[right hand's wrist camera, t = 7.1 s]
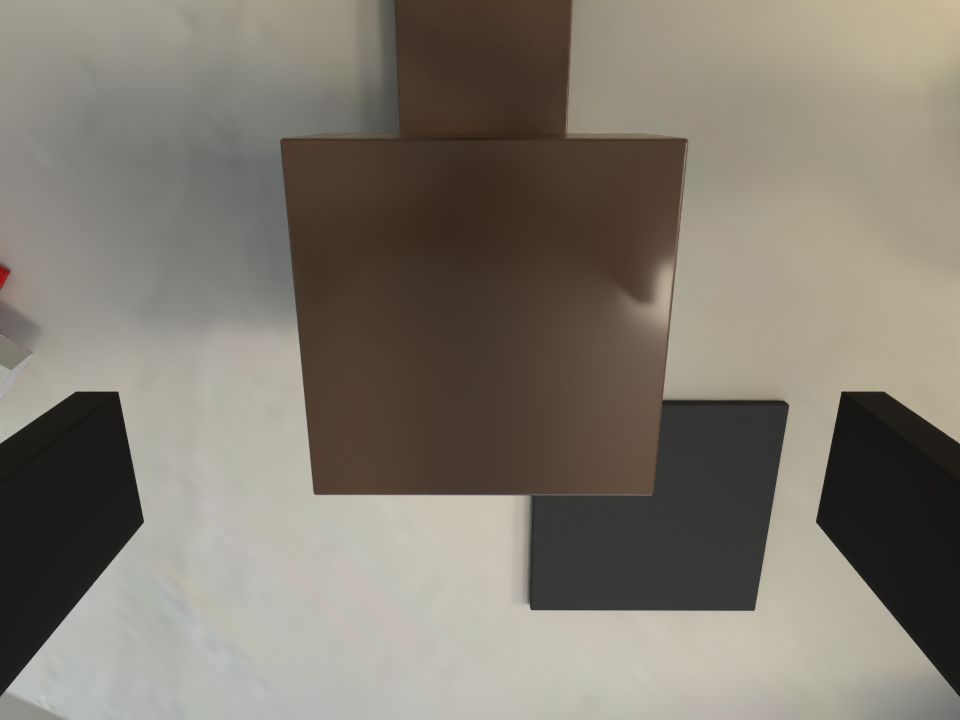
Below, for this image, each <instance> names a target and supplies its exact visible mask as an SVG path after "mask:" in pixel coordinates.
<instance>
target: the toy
mask: <svg viewBox="0 0 960 720" xmlns="http://www.w3.org/2000/svg"><path fill="white" fill-rule="evenodd" d="M9 273H10V271H8V270H7V269H5V268H3V267H1V266H0V289H1V287H2V286H3V284H4V282H5V280H6V278H7V277H8V275H9ZM32 354H33V352H32V351H30V350H28V349H27V348H25V347H23V346H21V345H19V344H18V343H16V342H14V341H12V340H10V339H9V338H7V337H5V336H3V335H1V334H0V398H1V397H2V396H3V395H5V394H6V393H7V392H8V391H9V390H10V388H11V387H12V385H13V384H14V382H15V380H16V379H17V377H18V376H19V374H20V373H21V371H22V369H23V368H24V366H25V365H26V363H27V361H28V360H29V358H30V357H31V355H32Z"/></svg>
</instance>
